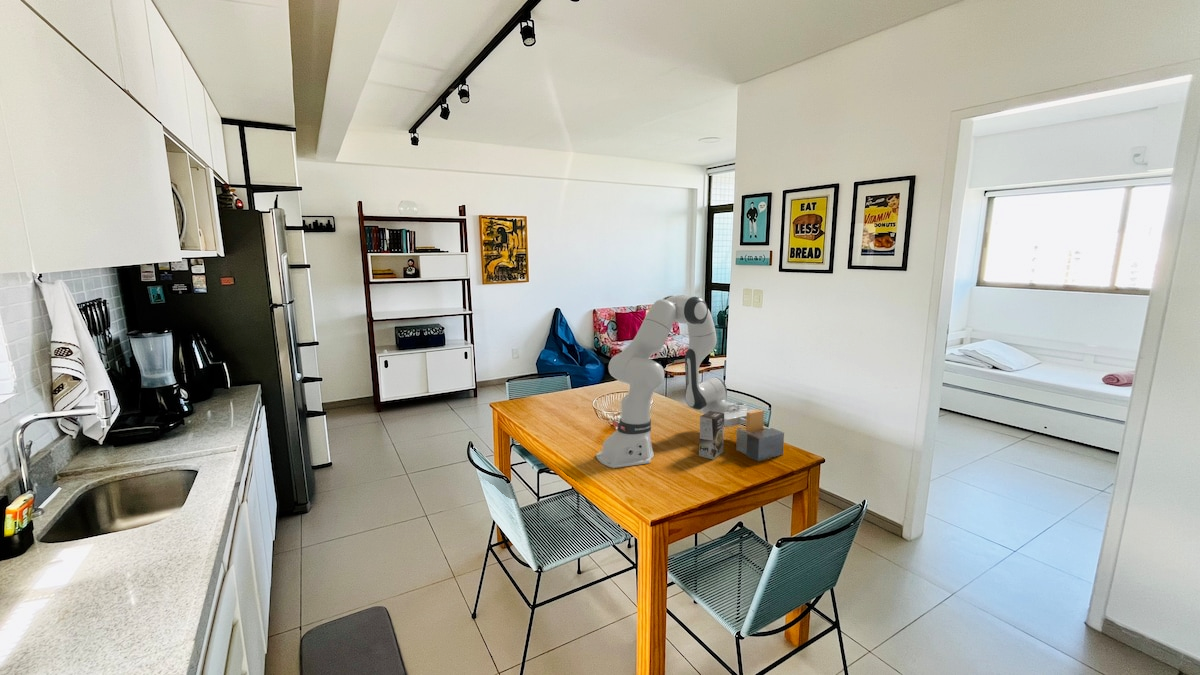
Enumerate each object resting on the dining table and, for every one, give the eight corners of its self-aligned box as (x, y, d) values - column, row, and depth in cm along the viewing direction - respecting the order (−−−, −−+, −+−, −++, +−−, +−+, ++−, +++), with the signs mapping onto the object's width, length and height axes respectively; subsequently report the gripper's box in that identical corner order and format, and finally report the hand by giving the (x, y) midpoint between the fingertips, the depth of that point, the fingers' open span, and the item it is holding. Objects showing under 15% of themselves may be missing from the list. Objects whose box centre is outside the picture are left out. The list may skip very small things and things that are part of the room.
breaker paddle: (749, 438, 190) (750, 413, 189) (745, 436, 192) (746, 412, 190) (762, 435, 193) (763, 410, 192) (758, 433, 195) (759, 409, 194)
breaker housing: (758, 461, 183) (759, 438, 182) (734, 450, 194) (735, 428, 193) (782, 454, 189) (784, 432, 188) (758, 444, 200) (759, 423, 198)
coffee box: (714, 460, 185) (715, 419, 182) (698, 456, 189) (699, 416, 186) (723, 452, 192) (725, 412, 190) (708, 448, 196) (709, 410, 193)
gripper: (709, 410, 200) (733, 419, 188) (746, 402, 209) (771, 411, 197) (708, 424, 201) (732, 435, 189) (746, 416, 210) (770, 426, 198)
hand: (752, 423), depth 193 cm, fingers closed, pressing on breaker paddle
